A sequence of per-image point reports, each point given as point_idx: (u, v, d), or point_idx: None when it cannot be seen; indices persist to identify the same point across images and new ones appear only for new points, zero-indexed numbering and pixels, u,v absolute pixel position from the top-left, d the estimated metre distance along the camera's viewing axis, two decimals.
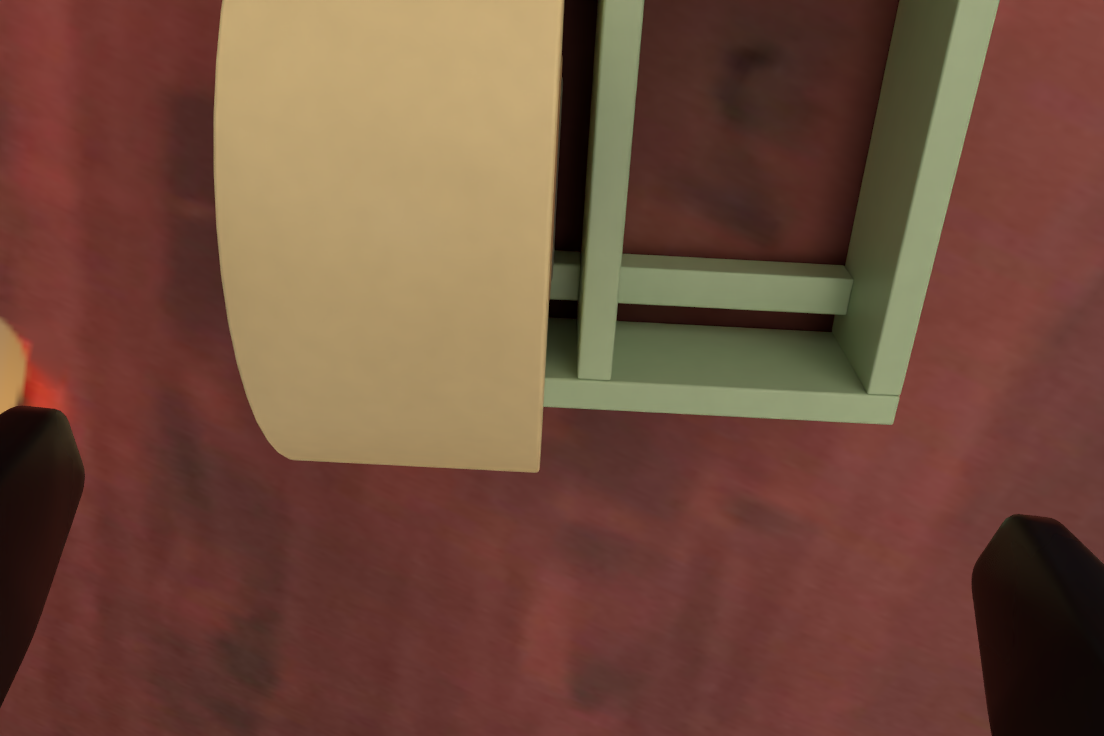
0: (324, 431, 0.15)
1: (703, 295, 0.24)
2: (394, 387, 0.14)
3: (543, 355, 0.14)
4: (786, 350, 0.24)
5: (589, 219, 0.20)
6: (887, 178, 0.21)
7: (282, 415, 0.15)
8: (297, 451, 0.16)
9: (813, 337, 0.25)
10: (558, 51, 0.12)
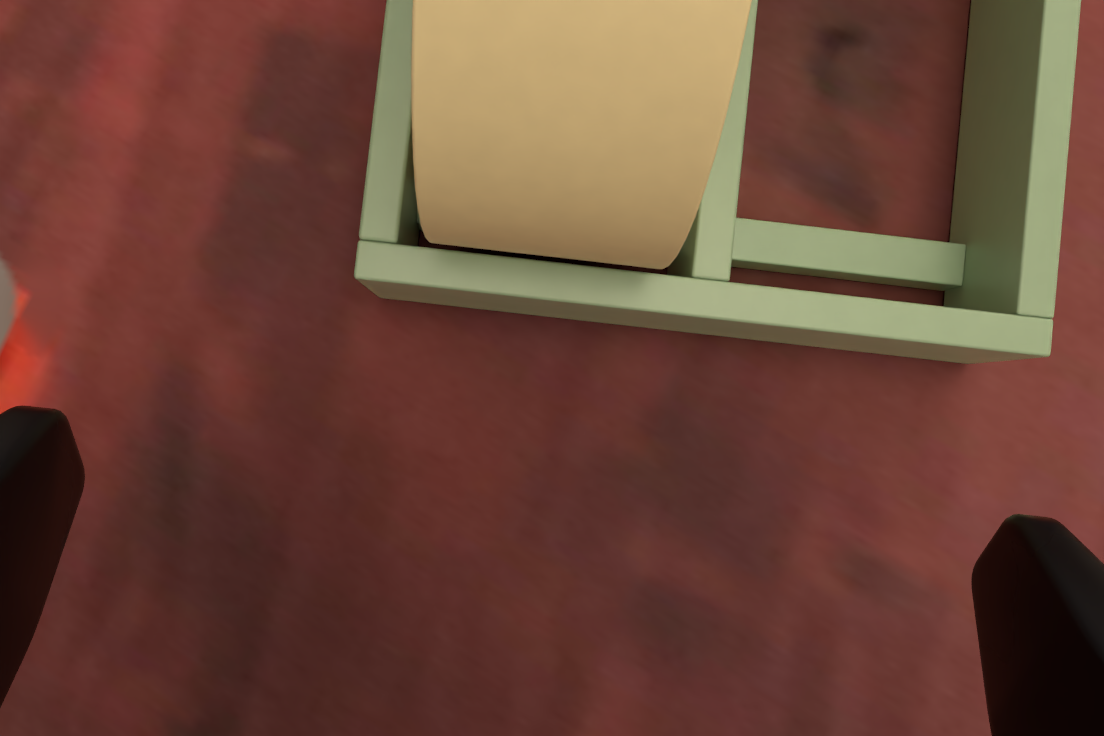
0: None
1: (809, 253, 0.22)
2: None
3: None
4: None
5: None
6: (994, 117, 0.21)
7: None
8: (439, 62, 0.13)
9: None
10: None
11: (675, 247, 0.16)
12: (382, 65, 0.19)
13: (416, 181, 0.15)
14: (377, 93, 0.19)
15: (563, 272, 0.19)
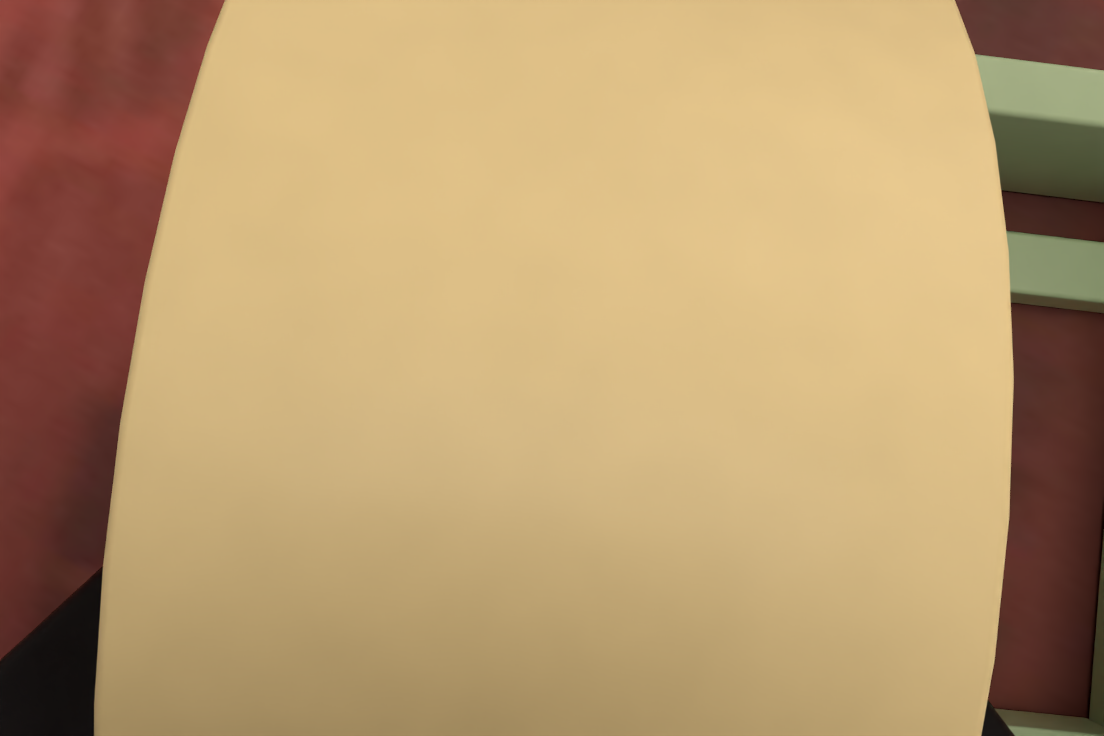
0: None
1: None
2: None
3: (983, 713, 0.05)
4: None
5: None
6: None
7: None
8: None
9: None
10: (960, 23, 0.06)
11: None
12: None
13: None
14: None
15: None
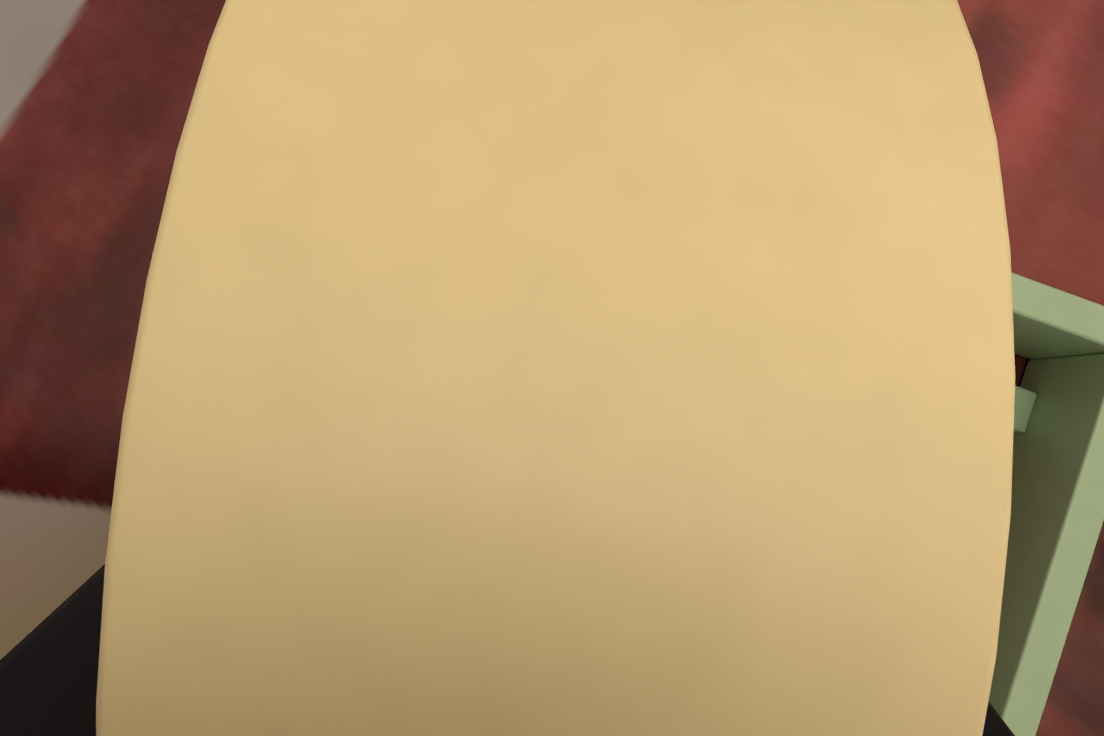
0: None
1: None
2: None
3: (985, 710, 0.05)
4: None
5: (1021, 659, 0.19)
6: None
7: None
8: None
9: None
10: (962, 21, 0.06)
11: None
12: None
13: None
14: None
15: None
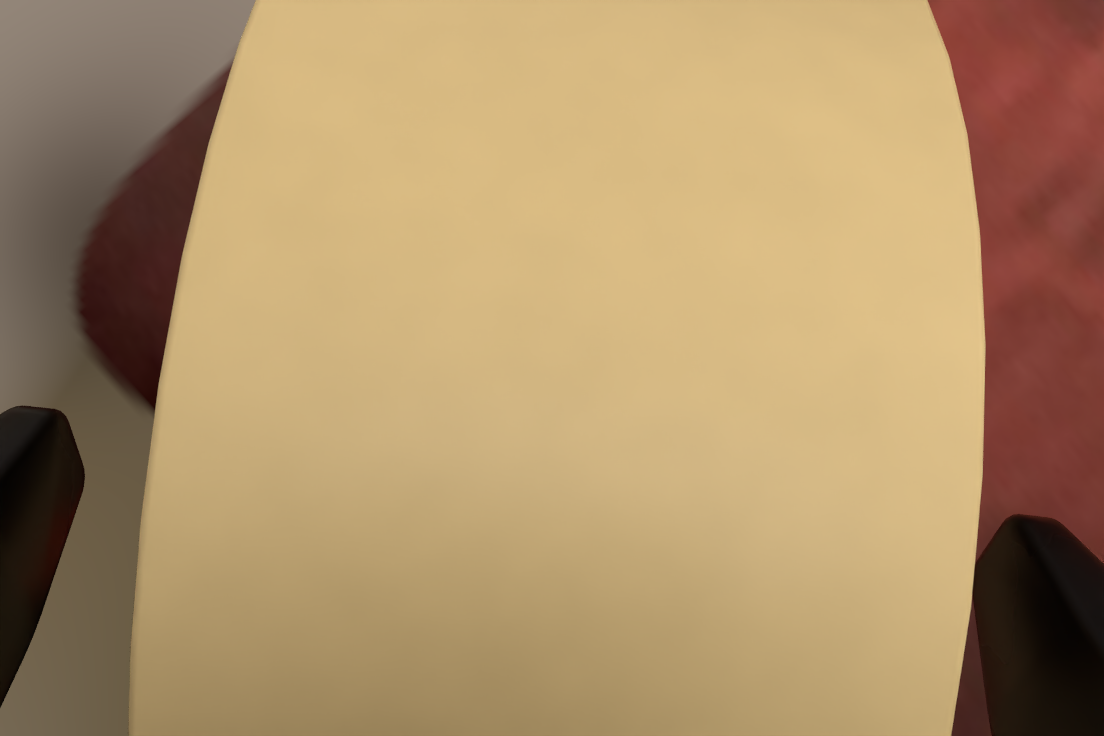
0: None
1: None
2: None
3: (962, 658, 0.05)
4: None
5: None
6: None
7: None
8: None
9: None
10: (935, 28, 0.06)
11: None
12: None
13: None
14: None
15: None
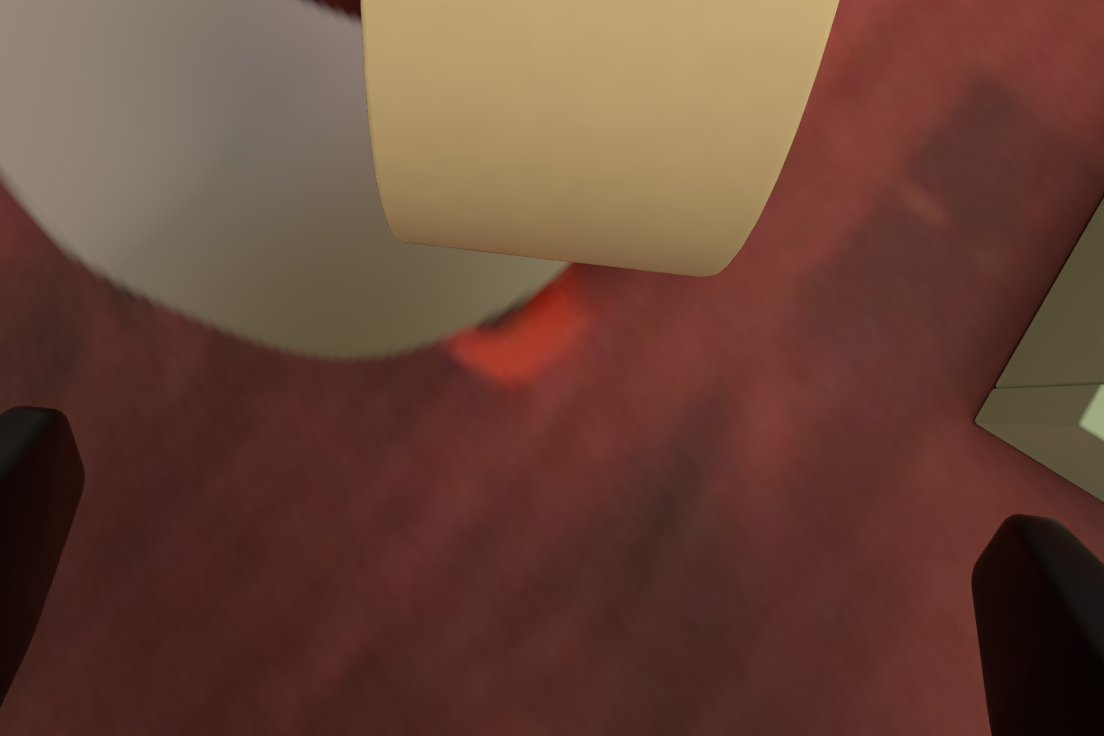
0: None
1: None
2: None
3: None
4: None
5: None
6: None
7: None
8: None
9: None
10: None
11: (728, 254, 0.12)
12: None
13: (376, 166, 0.11)
14: None
15: None
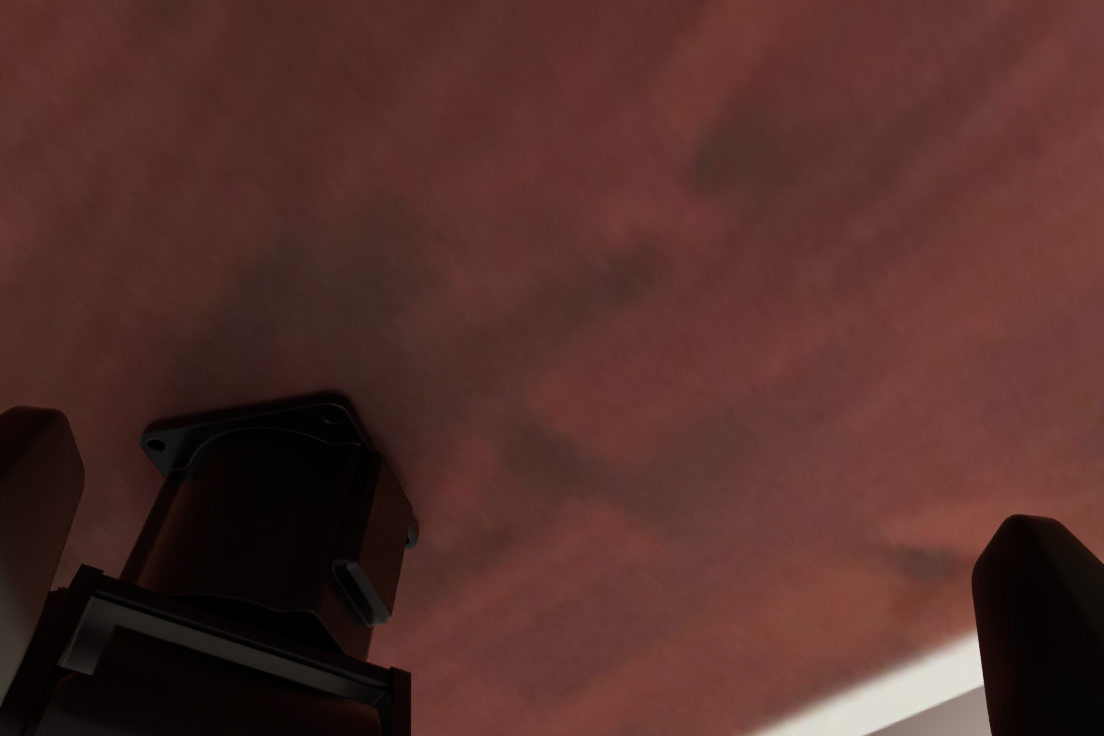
0: None
1: None
2: None
3: None
4: None
5: None
6: None
7: None
8: None
9: None
10: None
11: None
12: None
13: None
14: None
15: None
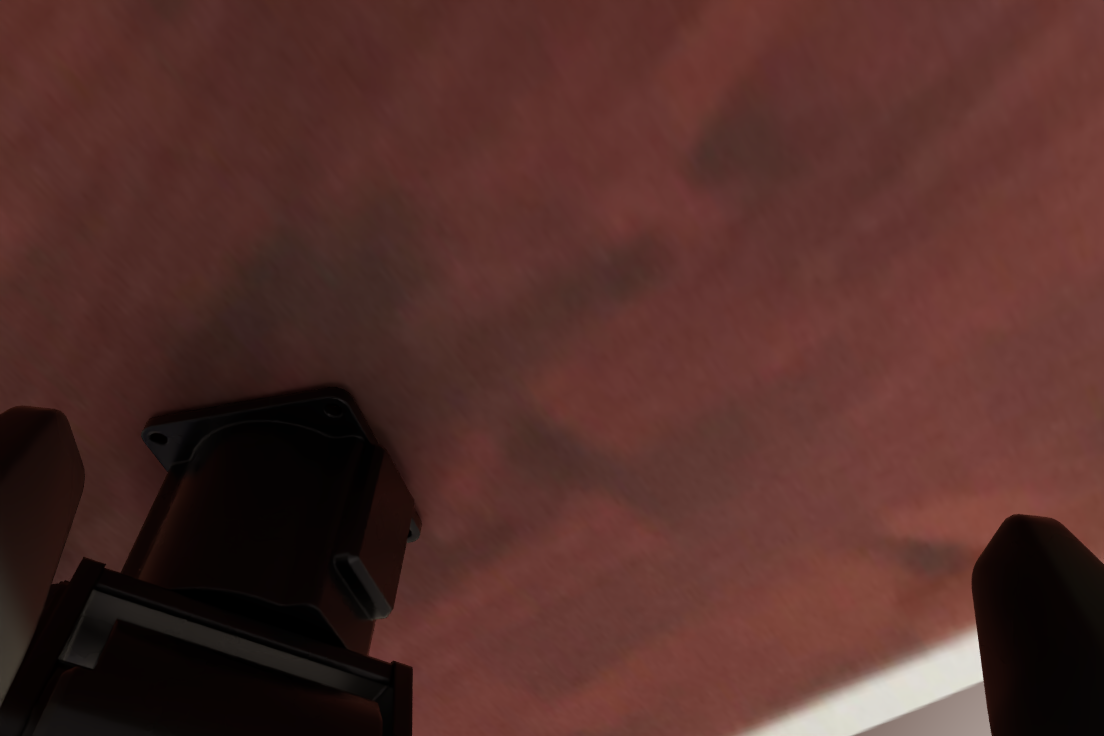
0: None
1: None
2: None
3: None
4: None
5: None
6: None
7: None
8: None
9: None
10: None
11: None
12: None
13: None
14: None
15: None
